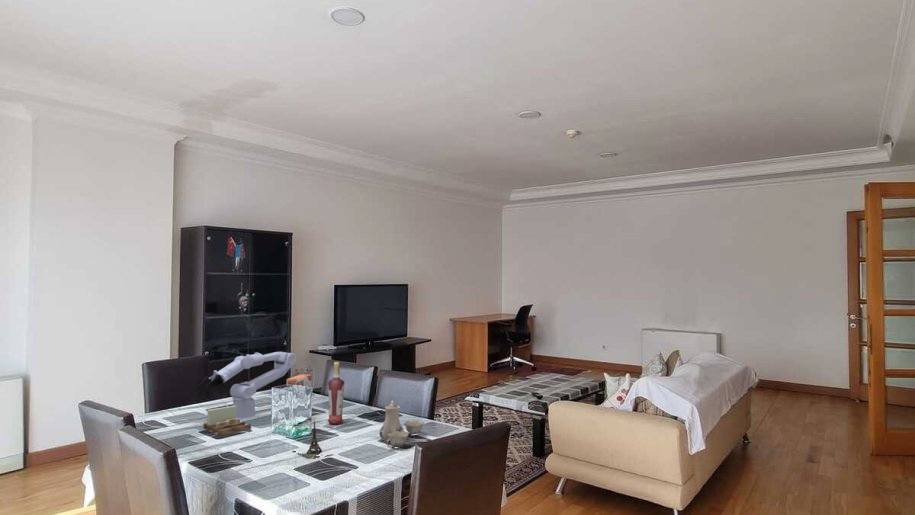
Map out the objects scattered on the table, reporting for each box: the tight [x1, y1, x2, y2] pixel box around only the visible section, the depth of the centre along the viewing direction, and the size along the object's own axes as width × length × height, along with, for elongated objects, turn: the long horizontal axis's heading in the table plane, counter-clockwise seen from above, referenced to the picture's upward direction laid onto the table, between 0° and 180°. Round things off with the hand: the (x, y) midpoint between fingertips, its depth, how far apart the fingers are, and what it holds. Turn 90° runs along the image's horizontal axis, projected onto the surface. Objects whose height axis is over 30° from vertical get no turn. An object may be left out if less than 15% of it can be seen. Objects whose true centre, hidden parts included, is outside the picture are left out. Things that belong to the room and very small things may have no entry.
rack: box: [202, 420, 252, 437], centre depth 232 cm, size 14×16×3 cm
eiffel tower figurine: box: [292, 420, 323, 460], centre depth 204 cm, size 15×10×13 cm
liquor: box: [327, 361, 345, 425], centre depth 246 cm, size 7×7×28 cm
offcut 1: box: [216, 421, 229, 427], centre depth 230 cm, size 5×2×3 cm, turn 137°
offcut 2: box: [226, 418, 239, 425], centre depth 235 cm, size 5×2×3 cm, turn 137°
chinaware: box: [378, 400, 425, 448], centre depth 221 cm, size 28×17×17 cm, turn 168°
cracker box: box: [285, 373, 313, 388], centre depth 247 cm, size 14×6×21 cm, turn 168°
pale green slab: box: [206, 405, 237, 425], centre depth 235 cm, size 12×2×8 cm, turn 137°
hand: (201, 389), depth 235 cm, fingers open, 7 cm apart
